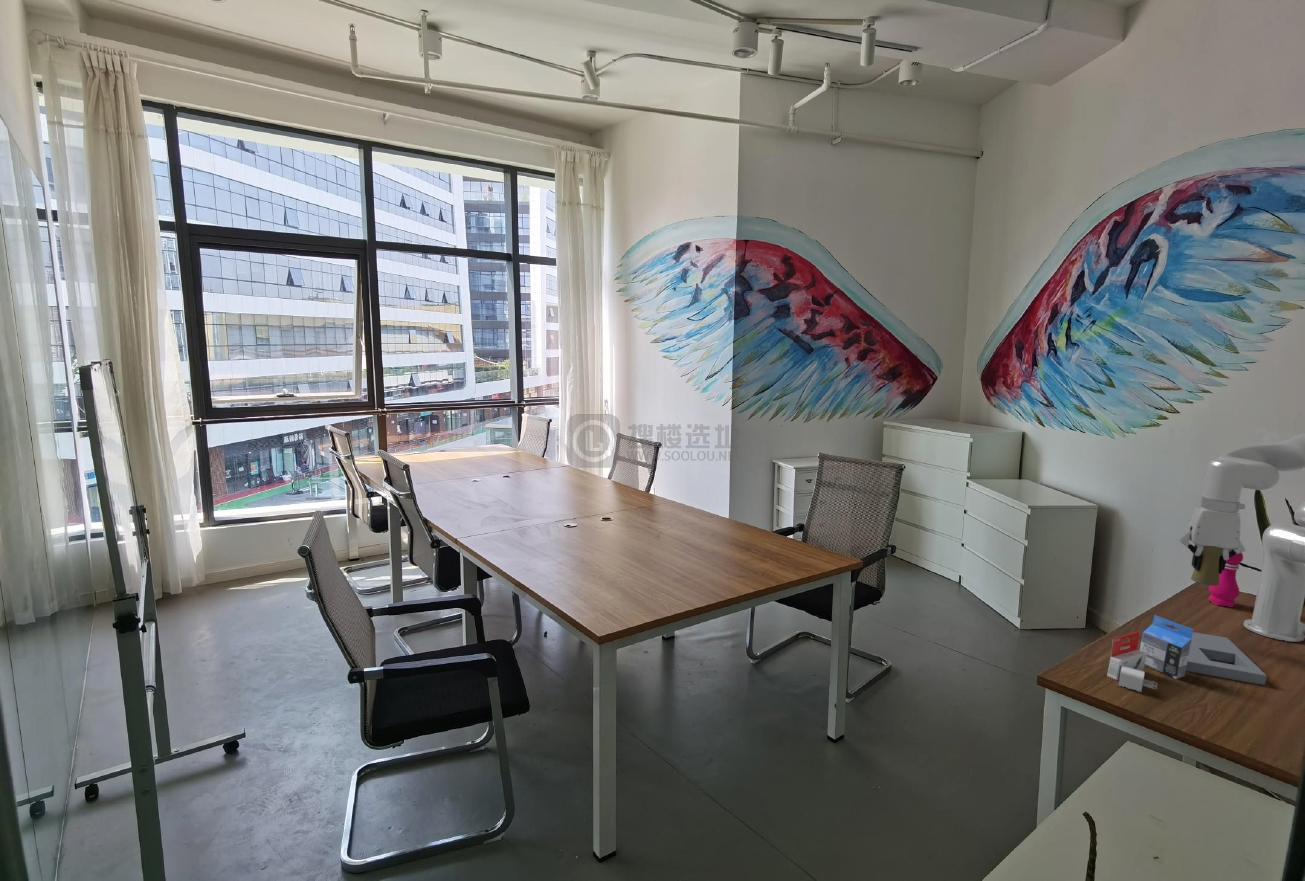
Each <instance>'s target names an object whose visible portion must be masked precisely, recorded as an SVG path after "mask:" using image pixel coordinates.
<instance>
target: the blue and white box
mask: <svg viewBox="0 0 1305 881" xmlns="http://www.w3.org/2000/svg"><path fill="white" fill-rule="evenodd" d="M1166 625H1168V626H1170V627H1168V626H1166ZM1171 626H1173V627H1174V628H1171ZM1174 629H1177V630H1179V631H1177V630H1174ZM1193 632H1194V628H1190V627H1189V626H1185V625H1183V624H1180V623H1177V622H1175V621H1172V620H1170V619H1167V618H1164V617H1161V616H1159V615H1156V614H1154V616H1153V620H1152V623H1151V625H1150V626H1148V627H1147V628H1146V629H1145V630H1144V631H1143V632H1142V636H1141V639H1140V640H1141V641H1140V646H1139V651H1142V652H1144V653H1146V659H1145V664H1144V667H1147V666H1148V668H1150V669H1153V670H1154V669H1155V670H1154V671H1157V672H1160V673H1161V672H1162V674H1163V675H1166V676H1168V677H1171V678H1172V677H1173V679H1175V680H1179V679H1181V678H1185V676H1186V672H1187V671H1186V666H1187V660H1188V655H1189V650H1190V645H1191V639H1192V633H1193Z"/></svg>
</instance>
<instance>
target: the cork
mask: <svg viewBox="0 0 1305 881" xmlns="http://www.w3.org/2000/svg"><path fill="white" fill-rule="evenodd" d="M1222 554H1223V548H1220V547H1216V546H1204V547H1203V550H1202V552H1201V557H1202V563H1201V568H1200V570H1199V571H1198V570H1196V569H1194V568H1193V569H1194V570H1193V572H1192V575H1191V577H1190V580H1191V581H1193V582H1196V583H1198V584H1202V585H1206V586H1210V585H1211V586H1218V585H1219V563H1220V556H1221V555H1222Z"/></svg>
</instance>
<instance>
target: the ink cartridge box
mask: <svg viewBox="0 0 1305 881" xmlns="http://www.w3.org/2000/svg"><path fill="white" fill-rule="evenodd" d="M1139 636H1140V631H1136V632H1135V631H1134V632H1132V633H1128V634H1124V635H1121V636H1118V637H1113V638H1112V643H1111V652H1110V660H1109V663H1108V664H1109V665H1108V669H1107V673H1106V674H1107V675H1106V676H1107V678H1110V677H1111V679H1112V678H1113V679H1112V680H1114V679H1115V680H1114V681H1119V678H1120V672H1121V668H1122V666H1126V667H1129V668H1133V669H1136V670H1140V671H1143V672H1144V668H1145V665H1144V664H1145V659H1146V653H1144V652H1142V651H1140V649H1138V646H1139ZM1126 638H1127V639H1128V641H1126V642H1123V641H1124V640H1125V639H1126Z"/></svg>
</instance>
